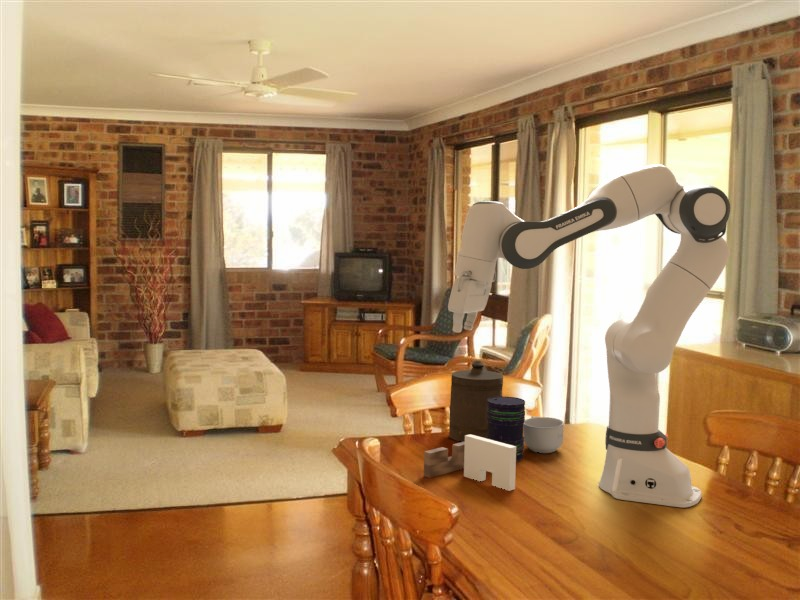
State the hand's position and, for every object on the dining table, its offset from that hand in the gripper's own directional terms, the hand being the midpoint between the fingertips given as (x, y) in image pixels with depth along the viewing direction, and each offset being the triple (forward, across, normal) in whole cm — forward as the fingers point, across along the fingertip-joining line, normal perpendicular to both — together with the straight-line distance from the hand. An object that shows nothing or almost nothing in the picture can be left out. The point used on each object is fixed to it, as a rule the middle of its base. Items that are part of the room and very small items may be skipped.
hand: (462, 330), depth 187 cm
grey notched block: (+36, +12, -1) cm, 38 cm away
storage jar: (+33, +30, -10) cm, 46 cm away
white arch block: (+34, +7, -12) cm, 37 cm away
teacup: (+32, +41, -18) cm, 55 cm away
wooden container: (+34, +45, +2) cm, 57 cm away
